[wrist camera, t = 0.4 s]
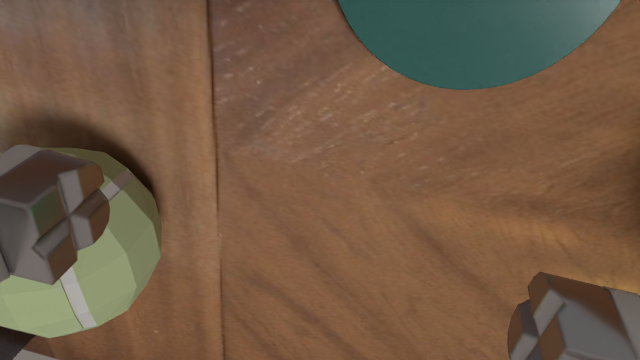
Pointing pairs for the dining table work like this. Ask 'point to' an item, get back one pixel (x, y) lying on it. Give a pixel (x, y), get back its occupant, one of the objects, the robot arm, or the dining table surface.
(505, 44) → the lid
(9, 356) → the coffee grinder
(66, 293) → the tennis ball
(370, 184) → the dining table surface
